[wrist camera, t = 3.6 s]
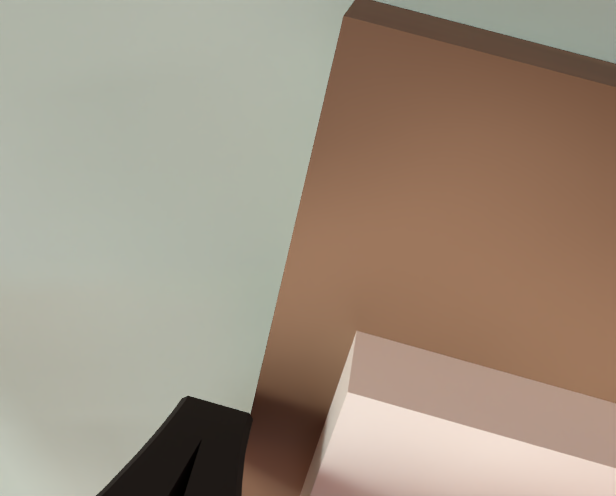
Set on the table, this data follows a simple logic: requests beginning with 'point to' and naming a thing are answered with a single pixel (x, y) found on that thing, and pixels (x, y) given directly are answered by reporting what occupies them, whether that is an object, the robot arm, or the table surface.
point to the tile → (457, 431)
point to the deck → (444, 222)
